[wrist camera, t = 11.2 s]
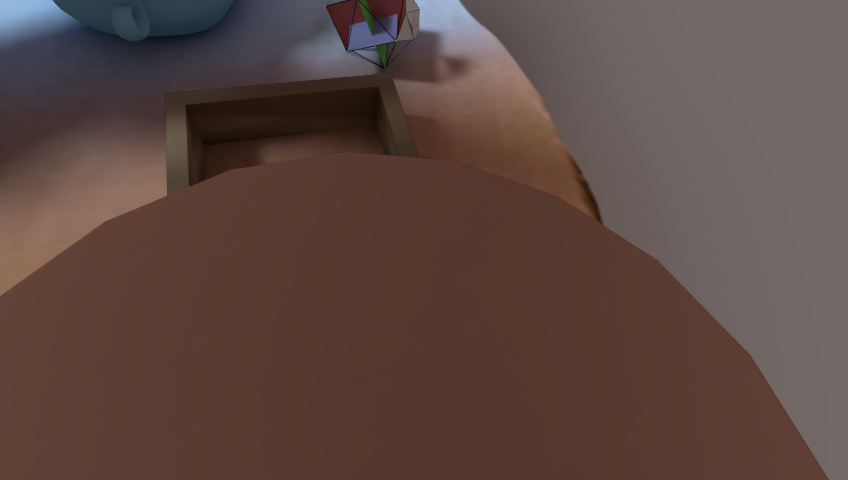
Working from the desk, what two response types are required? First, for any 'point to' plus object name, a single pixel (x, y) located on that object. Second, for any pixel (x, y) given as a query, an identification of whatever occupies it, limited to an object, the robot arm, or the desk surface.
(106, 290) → the coffee jar
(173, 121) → the walnut collar
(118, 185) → the desk surface
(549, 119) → the desk surface
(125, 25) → the decorative pot
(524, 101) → the desk surface
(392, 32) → the geometric puzzle
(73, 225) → the desk surface
